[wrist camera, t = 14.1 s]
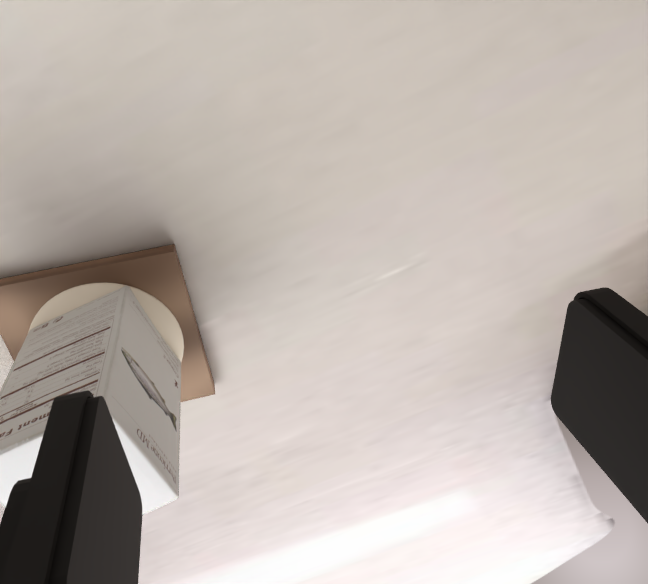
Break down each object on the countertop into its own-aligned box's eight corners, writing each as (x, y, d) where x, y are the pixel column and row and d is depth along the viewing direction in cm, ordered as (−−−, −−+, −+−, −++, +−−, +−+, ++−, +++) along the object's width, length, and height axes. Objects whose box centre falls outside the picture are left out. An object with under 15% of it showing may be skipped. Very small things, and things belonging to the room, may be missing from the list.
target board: (-16, 281, 35) (-23, 292, 34) (174, 244, 37) (173, 252, 35) (53, 421, 41) (50, 434, 40) (214, 384, 43) (215, 395, 41)
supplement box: (184, 361, 40) (184, 502, 29) (89, 404, 39) (53, 561, 29) (130, 279, 36) (105, 406, 25) (24, 326, 36) (-46, 473, 25)
